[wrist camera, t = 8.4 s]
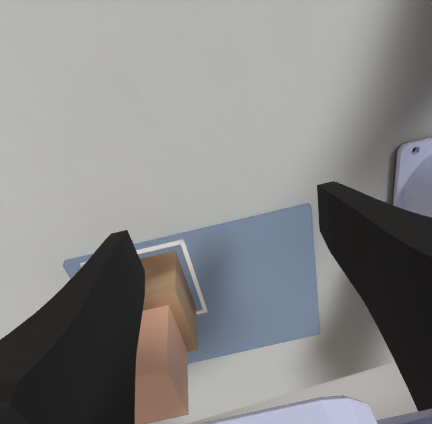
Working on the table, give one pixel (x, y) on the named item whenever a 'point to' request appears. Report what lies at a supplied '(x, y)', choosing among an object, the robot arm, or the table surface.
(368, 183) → the table surface
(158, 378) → the terracotta block
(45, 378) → the robot arm
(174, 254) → the walnut block
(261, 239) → the blueprint plate
